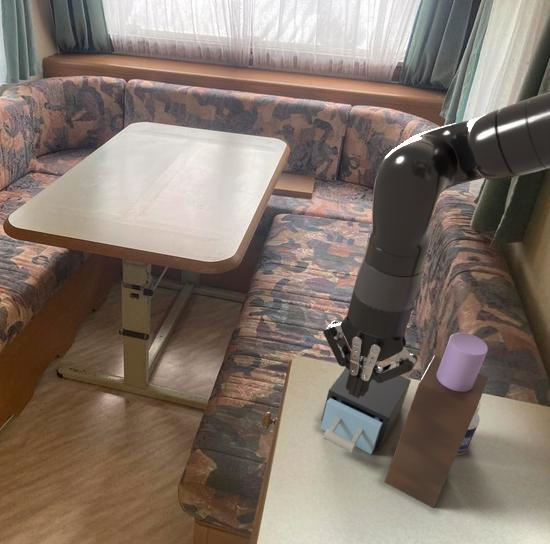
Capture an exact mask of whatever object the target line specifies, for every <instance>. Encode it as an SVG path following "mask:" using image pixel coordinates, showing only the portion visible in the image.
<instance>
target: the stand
mask: <svg viewBox="0 0 550 544" xmlns="http://www.w3.org/2000/svg"><path fill="white" fill-rule="evenodd" d="M442 358H443V357H442ZM442 358H441V357H439V356H437V355H433V357H432V358H431V360H430V363H429V364H428V366H427V367H426V369H425V371H424V374H423V375H422V377H421V378H420V381H419V382H418V385H417V387H416V392H415V394H414V396H413V399H412V402H411V405H410V408H409V411H408V412H407V413H408V414H407V416H406V419H405V422H404V425H403V428H402V430H401V434H400V436H399V439H398V442H397V444H396V449H395V450H394V453H393V456H392V459H391V462H390V465H389V468H388V471H387V473H386V476H385V478H384V483H385V484H386V485H388V486H390V487H392V488H394V489H396V490H398V491H399V492H401V493H403V494H405V495H407V496H409V497H411V498H413V499H415V500H416V501H418V502H421V503H423V504H424V505H426V506H428V507H430V508H432V509H434V507H435V506H436V504H437V501H438V499H439V497H440V494H441V491H442V489H443V488H444V485H445V482H446V481H447V478H448V476H449V474H450V471H451V470H452V469H451V468H452V466H453V464H454V462H455V459H456V457H457V456H458V455H457V453H458V450H459V448H460V446H461V443H462V441H463V439H464V437H465V434H466V432H467V430H468V427H469V425H470V423H471V420H472V418H473V416H474V414H475V411H476V409H477V407H478V404H479V402H480V401H481V399H482V397H483V394H484V392H485V389H486V386H487V384H488V381H489V377H488V376H486V375H484V374H482V373H480V372H479V373H478V375H477V378H476V380H475V382H474V385H473V387H472V389H471V390H469V391H466V392H458V391H454V390H451V389H449V388H447V387H445V386H444V385H442V384H441V383H440V382H439V380H438V379H437V371H438V369H439V366H440V363H441V361H442Z"/></svg>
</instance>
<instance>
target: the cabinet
mask: <svg viewBox="0 0 550 544" xmlns="http://www.w3.org/2000/svg"><path fill="white" fill-rule="evenodd" d="M366 360H367V359H365V361H364V365H365V362H366ZM364 365H363V367H362V369H364ZM377 367H380V368H381V367H382V366H379V364H378V365H377ZM348 376H349V370H348V369H347V368H346V367H345V366H344V369H343V370H342V371H341V373H340V374H339V375H338V377H337V378H336V379H335V381H334V382H333V383H332V385H331V386H330V387H329V389H328V392H327V395H326V399H325V403H324V407H323V413H322V417H321V420H320V421H321V422H322V420H323V416H324V412H325V408H326V404H327V401H328V400H329V398H332V399H334V400H337V398H339V399H341V400H343V401H345V402H347V403H349V404H351V405H353V406H356V407H358V408H360V409H362V410H364V411H366V412H368V413H370V414H372V415H375V416H377V417H379V418H381V419H383V421H382V423H383V424H382V427H381V430H380V433H379V436H378V439H377V442H376V445H375V448H374V449H376V450H380V449H381V447H382V445H383V444H384V442H385V440H386V438H387V436H388V434H389V433H390V431H391V429H392V427H393V426H394V424H395V422H396V420H397V418H398V417H399V414H400V413H401V412H402V408H403V405H404V403H405V399H406V396H407V394H408V390H409V388H410V385H411V381H412V380H411V379H410V378H408V377H405V376H403V375H400V376H397V377H395V378H392V379H390V380H387V381H385V382H383V383H377V382H376V381H375V380H371V382H370V386H369V389H368V391H367V392H366V394H365V395H364V396H363V397H362V396H360V397H359V398H356V397H354V396H352V395H349V394H348V393H349V390H347V389H346V383H347V380H348Z"/></svg>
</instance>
